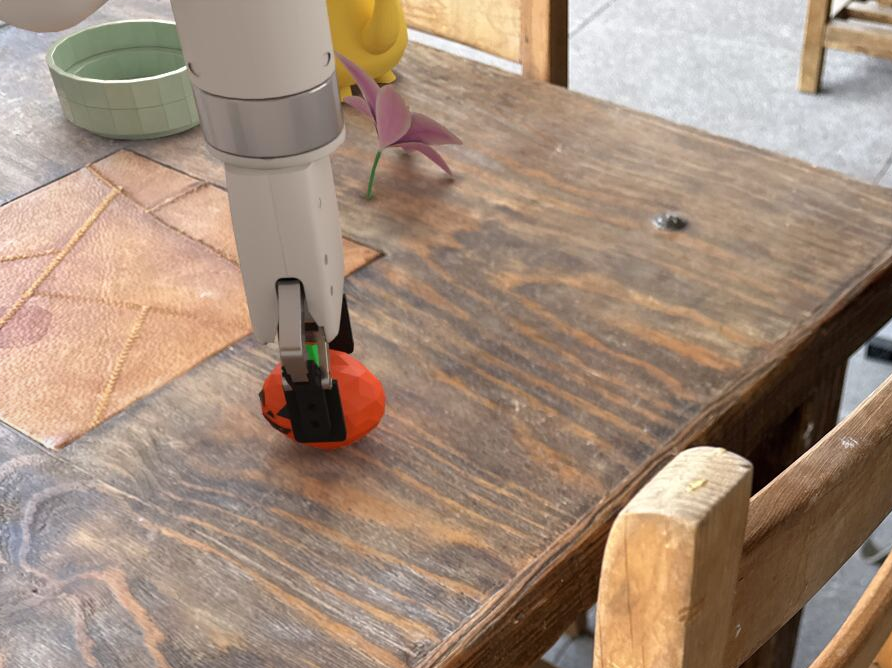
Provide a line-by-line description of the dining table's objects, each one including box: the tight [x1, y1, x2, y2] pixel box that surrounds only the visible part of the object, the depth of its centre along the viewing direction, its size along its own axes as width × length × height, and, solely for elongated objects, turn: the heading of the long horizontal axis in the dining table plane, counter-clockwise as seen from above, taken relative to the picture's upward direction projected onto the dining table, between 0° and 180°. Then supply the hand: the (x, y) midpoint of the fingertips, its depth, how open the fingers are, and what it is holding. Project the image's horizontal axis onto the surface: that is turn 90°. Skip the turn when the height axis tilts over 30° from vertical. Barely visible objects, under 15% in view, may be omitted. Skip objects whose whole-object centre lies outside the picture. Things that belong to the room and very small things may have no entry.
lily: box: [333, 50, 464, 199], centre depth 96 cm, size 12×12×10 cm
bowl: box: [44, 18, 200, 141], centre depth 105 cm, size 14×14×5 cm
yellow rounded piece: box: [326, 0, 409, 103], centre depth 107 cm, size 14×14×12 cm
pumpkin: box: [257, 345, 387, 451], centre depth 75 cm, size 7×8×6 cm
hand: (326, 394), depth 75 cm, fingers open, 9 cm apart
